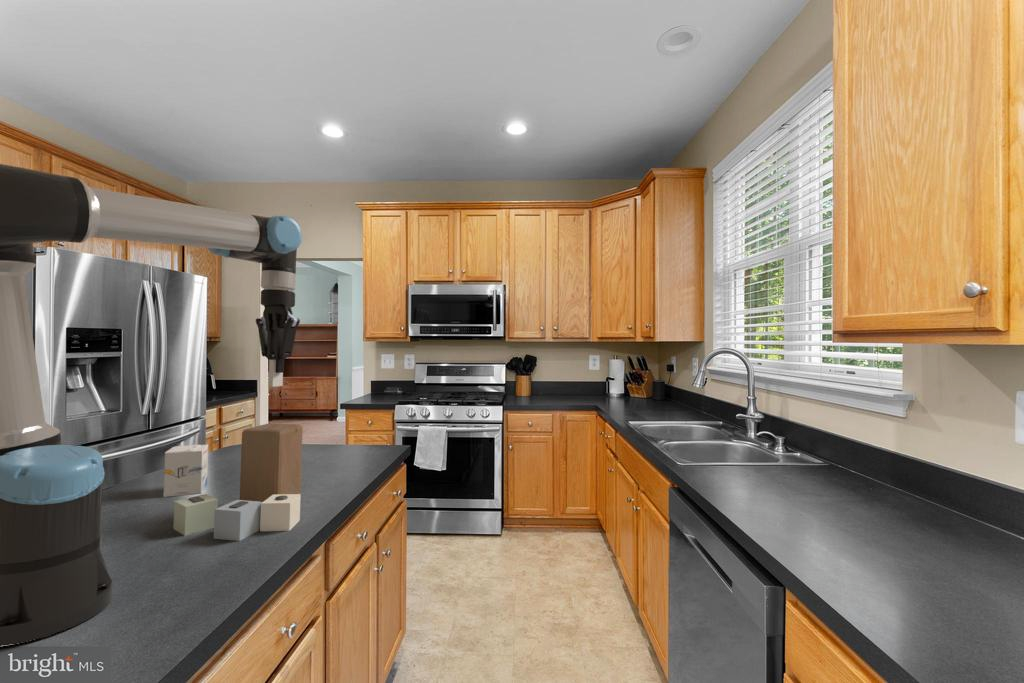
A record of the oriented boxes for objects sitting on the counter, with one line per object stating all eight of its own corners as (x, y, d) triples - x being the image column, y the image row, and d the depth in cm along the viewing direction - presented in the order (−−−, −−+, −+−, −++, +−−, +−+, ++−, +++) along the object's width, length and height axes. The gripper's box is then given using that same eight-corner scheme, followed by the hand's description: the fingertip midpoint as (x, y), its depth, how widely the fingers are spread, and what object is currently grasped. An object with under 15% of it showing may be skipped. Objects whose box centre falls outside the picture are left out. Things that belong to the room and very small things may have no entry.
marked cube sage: (184, 536, 92) (186, 505, 92) (173, 529, 95) (174, 499, 96) (217, 527, 97) (218, 497, 97) (205, 520, 100) (206, 492, 101)
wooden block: (301, 503, 113) (304, 424, 113) (277, 517, 103) (280, 430, 103) (264, 501, 114) (267, 422, 114) (236, 515, 104) (240, 429, 104)
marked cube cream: (289, 531, 96) (290, 501, 96) (260, 531, 95) (261, 502, 95) (299, 520, 102) (300, 492, 102) (272, 521, 101) (273, 493, 101)
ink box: (171, 488, 123) (172, 445, 123) (207, 484, 126) (209, 443, 126) (162, 497, 115) (163, 452, 115) (201, 494, 118) (203, 449, 119)
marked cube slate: (239, 541, 90) (240, 510, 90) (213, 538, 91) (214, 507, 91) (260, 529, 96) (261, 500, 96) (236, 527, 97) (237, 498, 97)
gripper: (310, 291, 110) (307, 386, 110) (273, 293, 116) (271, 384, 115) (283, 287, 104) (280, 388, 103) (246, 289, 109) (243, 385, 108)
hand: (275, 386), depth 109 cm, fingers closed
